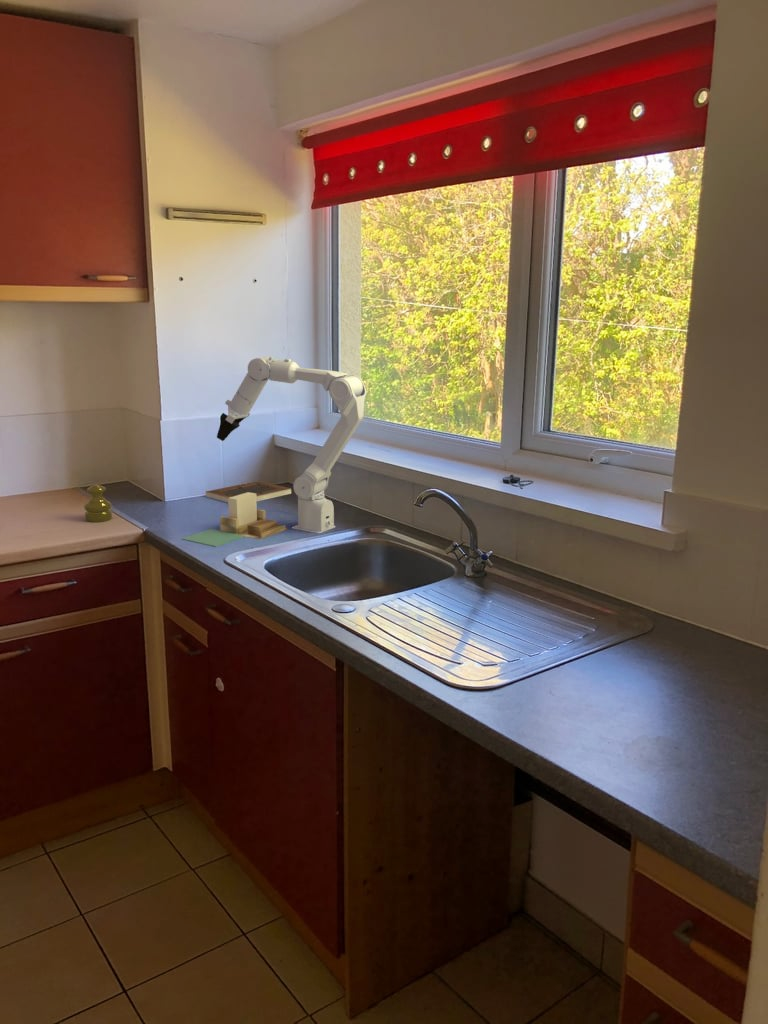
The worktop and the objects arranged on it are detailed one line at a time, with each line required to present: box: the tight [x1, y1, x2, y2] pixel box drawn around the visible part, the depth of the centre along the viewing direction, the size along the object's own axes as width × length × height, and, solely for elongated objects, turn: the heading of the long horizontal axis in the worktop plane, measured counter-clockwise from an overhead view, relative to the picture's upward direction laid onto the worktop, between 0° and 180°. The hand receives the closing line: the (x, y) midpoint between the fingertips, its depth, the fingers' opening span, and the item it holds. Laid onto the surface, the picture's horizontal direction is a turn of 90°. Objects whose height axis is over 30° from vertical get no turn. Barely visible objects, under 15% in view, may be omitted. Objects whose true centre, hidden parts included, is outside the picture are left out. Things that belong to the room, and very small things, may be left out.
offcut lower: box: [248, 524, 281, 536], centre depth 226 cm, size 5×8×1 cm, turn 148°
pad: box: [181, 528, 246, 548], centre depth 220 cm, size 12×11×1 cm
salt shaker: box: [83, 483, 113, 523], centre depth 237 cm, size 7×7×10 cm
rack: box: [219, 508, 288, 540], centre depth 227 cm, size 14×12×4 cm
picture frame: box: [205, 480, 292, 504], centre depth 268 cm, size 16×2×22 cm
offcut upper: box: [247, 518, 279, 532], centre depth 225 cm, size 4×7×1 cm, turn 148°
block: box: [227, 492, 258, 527], centre depth 228 cm, size 3×8×9 cm, turn 148°
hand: (224, 434), depth 234 cm, fingers open, 7 cm apart
